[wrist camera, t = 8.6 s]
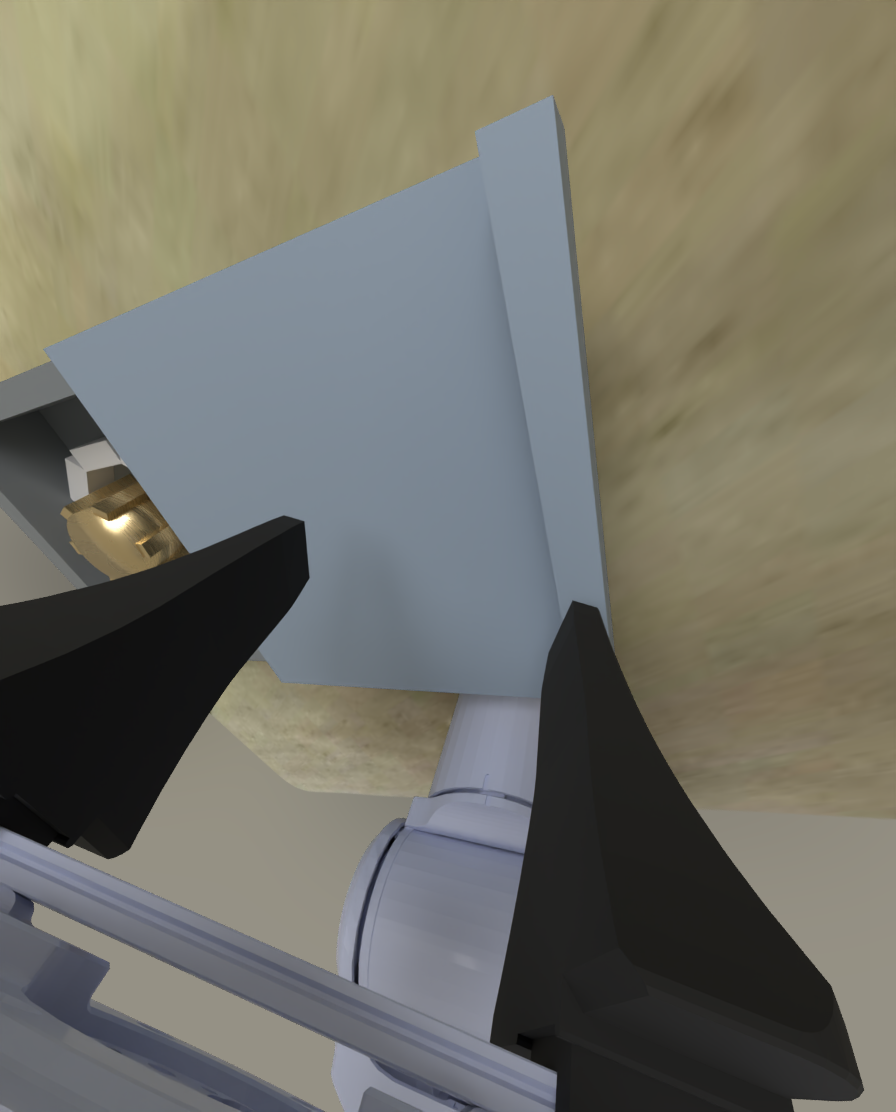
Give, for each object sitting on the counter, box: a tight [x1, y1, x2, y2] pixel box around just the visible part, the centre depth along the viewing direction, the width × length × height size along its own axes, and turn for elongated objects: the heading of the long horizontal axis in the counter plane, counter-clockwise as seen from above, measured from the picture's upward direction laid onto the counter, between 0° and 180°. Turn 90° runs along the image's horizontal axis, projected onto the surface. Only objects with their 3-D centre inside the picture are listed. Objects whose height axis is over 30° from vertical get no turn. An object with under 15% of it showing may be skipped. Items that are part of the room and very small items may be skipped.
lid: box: [43, 95, 615, 698], centre depth 15 cm, size 16×16×3 cm
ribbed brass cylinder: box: [60, 474, 190, 580], centre depth 23 cm, size 5×5×4 cm
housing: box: [0, 361, 266, 661], centre depth 23 cm, size 16×16×5 cm
